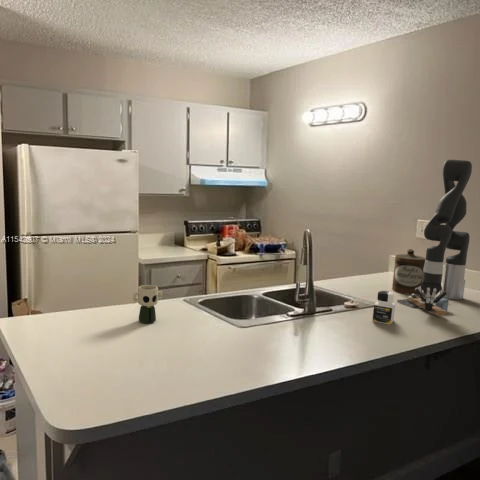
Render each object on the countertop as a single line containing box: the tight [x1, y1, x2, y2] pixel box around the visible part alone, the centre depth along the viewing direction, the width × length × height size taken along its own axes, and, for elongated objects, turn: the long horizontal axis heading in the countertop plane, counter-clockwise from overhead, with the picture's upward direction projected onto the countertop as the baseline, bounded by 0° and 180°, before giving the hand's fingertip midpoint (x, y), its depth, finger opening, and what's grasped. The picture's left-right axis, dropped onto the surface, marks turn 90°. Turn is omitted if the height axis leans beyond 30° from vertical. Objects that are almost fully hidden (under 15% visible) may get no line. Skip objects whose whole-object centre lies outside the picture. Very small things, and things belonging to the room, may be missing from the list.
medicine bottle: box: [372, 290, 396, 325], centre depth 188 cm, size 7×7×12 cm
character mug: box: [132, 284, 163, 324], centre depth 171 cm, size 11×7×13 cm, turn 119°
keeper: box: [421, 297, 450, 312], centre depth 208 cm, size 12×4×5 cm, turn 112°
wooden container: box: [391, 248, 426, 295], centre depth 242 cm, size 15×15×22 cm
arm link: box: [407, 295, 448, 317], centre depth 208 cm, size 24×5×2 cm, turn 10°
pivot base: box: [396, 293, 420, 309], centre depth 217 cm, size 10×10×5 cm
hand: (428, 311), depth 199 cm, fingers closed
